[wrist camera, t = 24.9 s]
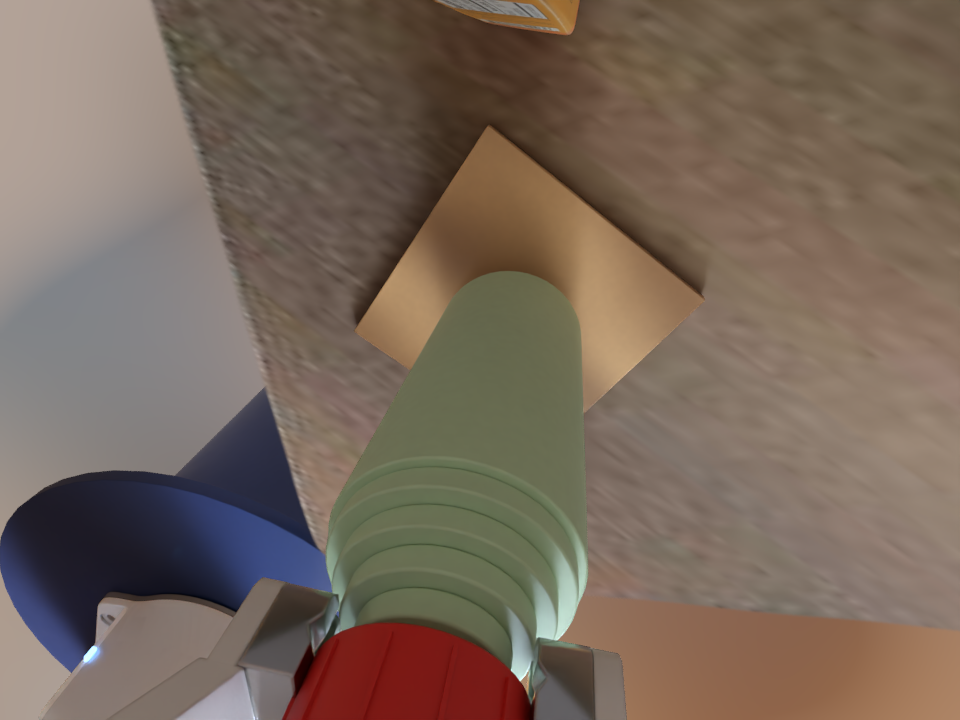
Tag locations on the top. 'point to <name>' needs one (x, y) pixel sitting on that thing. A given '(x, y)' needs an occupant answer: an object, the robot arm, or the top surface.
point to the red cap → (406, 678)
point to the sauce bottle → (475, 480)
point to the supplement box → (521, 13)
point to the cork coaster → (530, 265)
